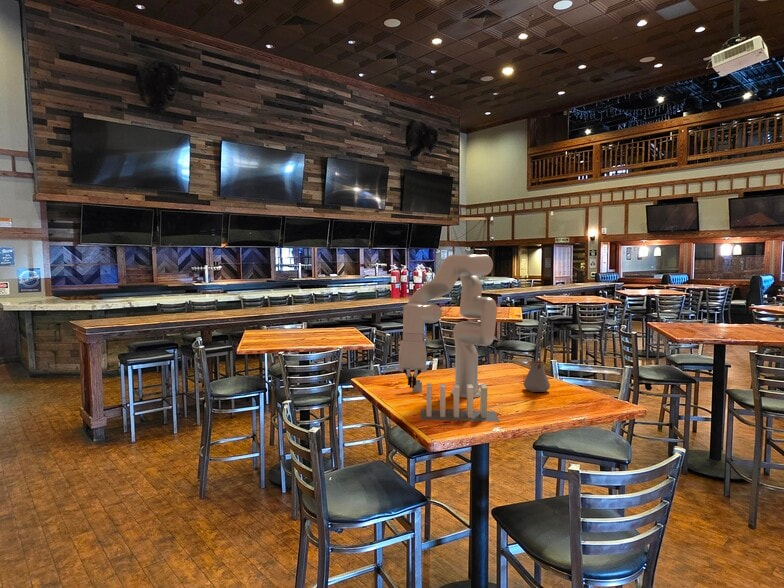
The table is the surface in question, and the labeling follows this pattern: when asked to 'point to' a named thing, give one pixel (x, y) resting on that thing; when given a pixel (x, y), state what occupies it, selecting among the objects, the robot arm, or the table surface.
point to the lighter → (417, 386)
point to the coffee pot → (536, 378)
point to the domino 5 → (483, 401)
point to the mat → (462, 416)
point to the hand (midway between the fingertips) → (411, 387)
